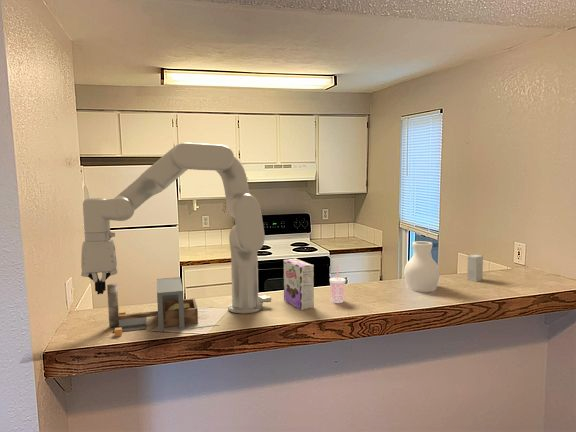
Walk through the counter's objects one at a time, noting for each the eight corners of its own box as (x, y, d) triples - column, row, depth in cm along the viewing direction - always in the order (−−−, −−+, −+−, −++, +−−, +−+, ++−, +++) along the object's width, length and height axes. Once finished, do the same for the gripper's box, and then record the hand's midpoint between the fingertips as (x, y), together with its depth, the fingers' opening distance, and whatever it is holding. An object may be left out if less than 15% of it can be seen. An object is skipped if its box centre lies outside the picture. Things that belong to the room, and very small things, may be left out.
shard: (191, 315, 154) (190, 310, 155) (205, 307, 150) (204, 302, 151) (165, 315, 146) (164, 310, 147) (178, 307, 142) (177, 301, 143)
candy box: (283, 301, 169) (282, 259, 168) (296, 298, 172) (296, 257, 170) (300, 311, 157) (300, 266, 155) (314, 308, 160) (314, 264, 158)
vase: (425, 296, 173) (426, 246, 171) (396, 289, 184) (397, 242, 182) (446, 290, 182) (447, 243, 179) (417, 283, 193) (418, 238, 191)
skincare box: (473, 280, 198) (474, 254, 196) (482, 282, 194) (483, 255, 193) (466, 282, 194) (467, 255, 192) (475, 284, 190) (476, 257, 189)
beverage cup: (327, 304, 165) (327, 267, 163) (331, 299, 171) (331, 264, 169) (344, 305, 163) (344, 268, 162) (346, 300, 169) (346, 265, 167)
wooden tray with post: (195, 312, 157) (193, 274, 155) (198, 323, 145) (196, 282, 144) (111, 320, 149) (109, 280, 147) (107, 332, 137) (105, 289, 136)
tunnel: (211, 307, 162) (210, 274, 161) (219, 325, 143) (218, 288, 142) (116, 316, 153) (114, 281, 152) (111, 337, 134) (108, 297, 133)
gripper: (123, 234, 145) (126, 288, 147) (74, 236, 141) (77, 292, 143) (121, 237, 138) (124, 294, 140) (69, 240, 134) (73, 298, 136)
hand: (100, 293), depth 141 cm, fingers closed
